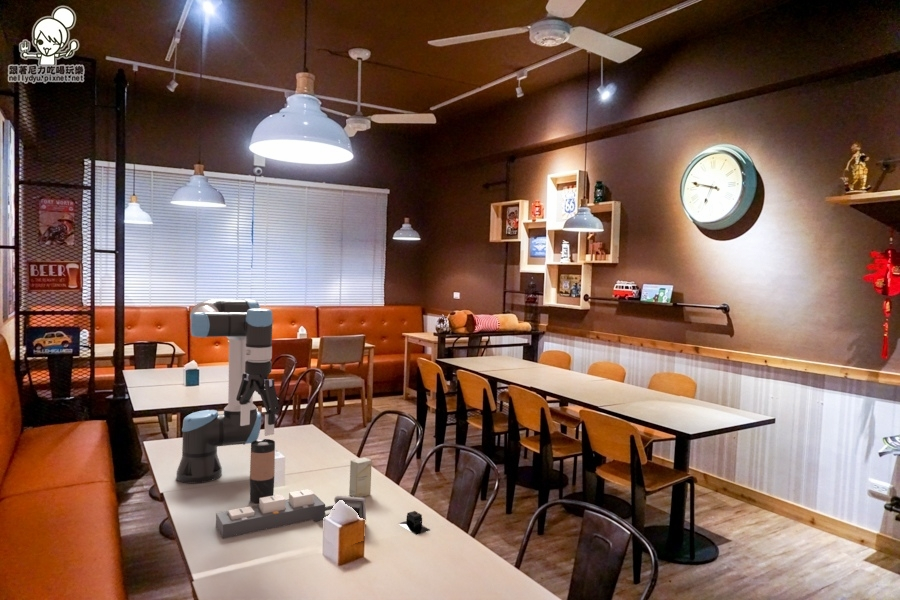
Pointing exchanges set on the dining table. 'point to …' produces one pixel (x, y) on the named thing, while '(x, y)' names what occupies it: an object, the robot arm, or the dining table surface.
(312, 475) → the dining table surface
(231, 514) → the button
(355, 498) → the electrical switch
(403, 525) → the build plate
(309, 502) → the button
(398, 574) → the dining table surface
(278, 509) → the button
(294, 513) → the power strip
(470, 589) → the dining table surface
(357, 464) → the skincare box
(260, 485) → the travel mug
